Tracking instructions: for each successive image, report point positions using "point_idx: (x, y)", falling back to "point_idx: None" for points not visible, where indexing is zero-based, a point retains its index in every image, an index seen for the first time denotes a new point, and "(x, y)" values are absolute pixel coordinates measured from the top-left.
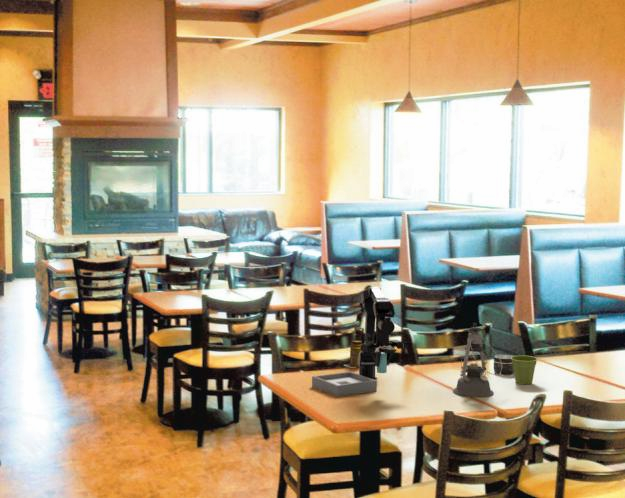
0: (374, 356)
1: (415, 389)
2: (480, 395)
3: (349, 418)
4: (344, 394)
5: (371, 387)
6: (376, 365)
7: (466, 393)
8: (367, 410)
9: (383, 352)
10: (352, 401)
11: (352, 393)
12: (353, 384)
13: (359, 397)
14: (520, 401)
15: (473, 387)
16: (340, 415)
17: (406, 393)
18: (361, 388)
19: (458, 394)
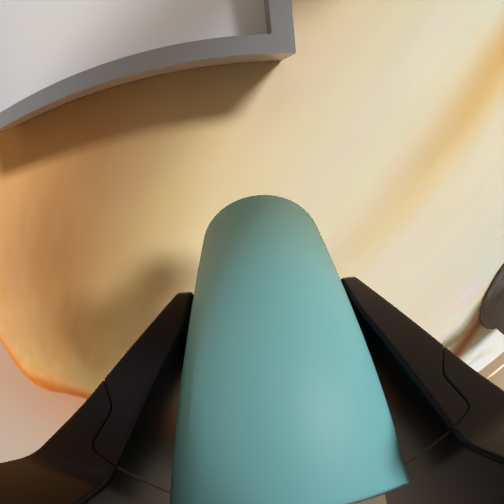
0: (97, 442)
1: (473, 158)
2: (491, 328)
3: (47, 368)
4: (42, 112)
5: (237, 60)
6: (170, 311)
7: (488, 315)
8: (94, 347)
9: (398, 485)
10: (55, 233)
11: (87, 94)
12: (62, 98)
13: (101, 173)
14: (488, 360)
15: (502, 332)
16: (26, 345)
17: (398, 199)
18: (143, 75)
19: (486, 297)
